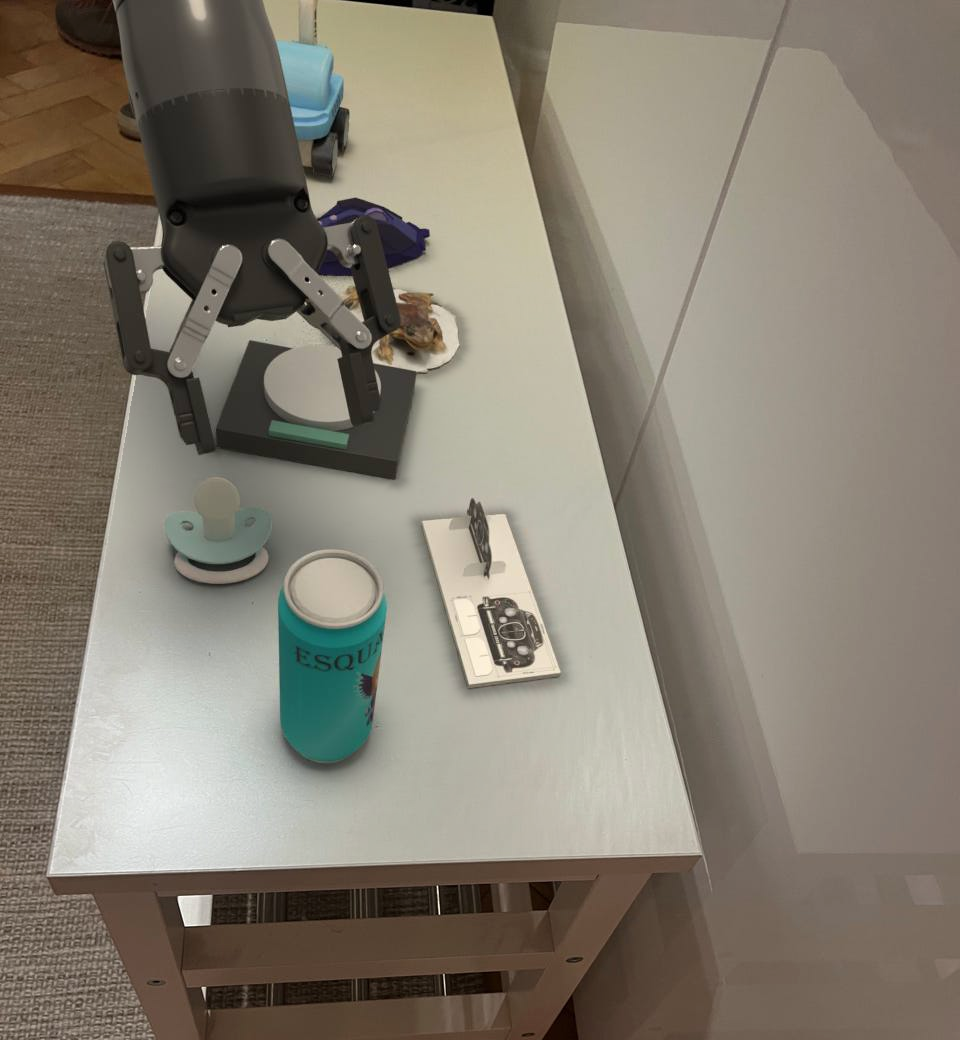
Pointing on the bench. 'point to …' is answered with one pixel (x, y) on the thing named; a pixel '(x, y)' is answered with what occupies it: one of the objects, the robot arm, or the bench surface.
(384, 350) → the frog figurine
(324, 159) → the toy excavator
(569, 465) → the bench surface
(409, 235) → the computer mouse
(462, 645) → the car cutout
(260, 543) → the pacifier
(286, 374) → the scale
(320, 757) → the beverage can
